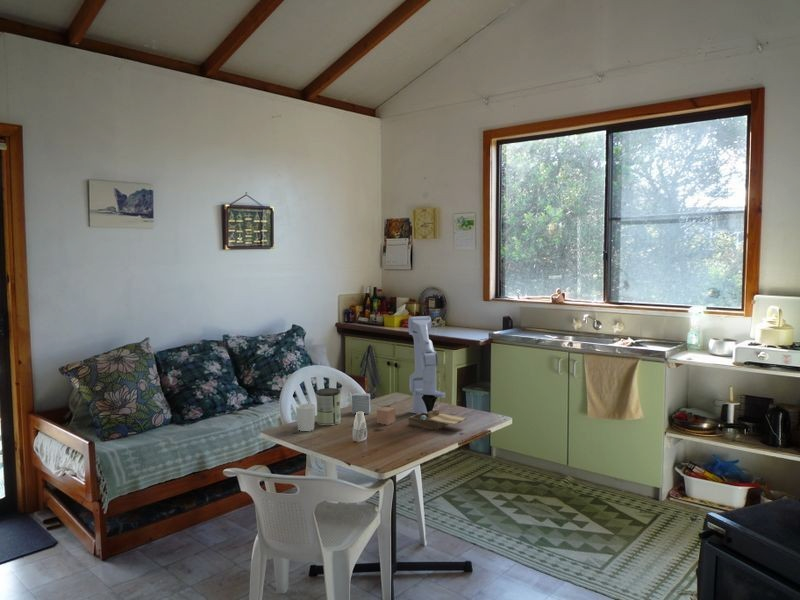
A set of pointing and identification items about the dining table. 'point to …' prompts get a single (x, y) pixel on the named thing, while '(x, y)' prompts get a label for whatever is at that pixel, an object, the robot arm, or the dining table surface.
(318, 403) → the coffee can
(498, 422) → the dining table surface
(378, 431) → the dining table surface
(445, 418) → the lid
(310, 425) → the white cup
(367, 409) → the medicine box
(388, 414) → the tan cardboard cube
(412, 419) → the walnut box
